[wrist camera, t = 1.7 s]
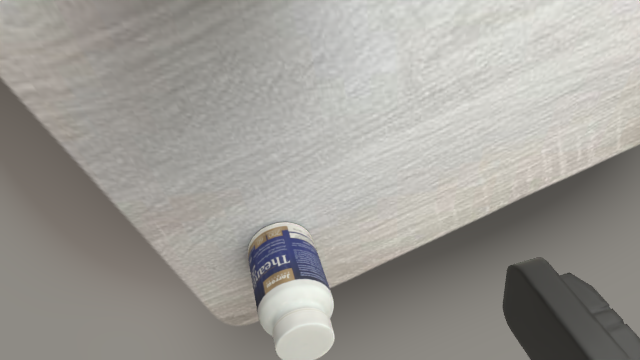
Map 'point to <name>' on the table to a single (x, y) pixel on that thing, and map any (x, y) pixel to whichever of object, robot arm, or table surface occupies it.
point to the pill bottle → (291, 291)
